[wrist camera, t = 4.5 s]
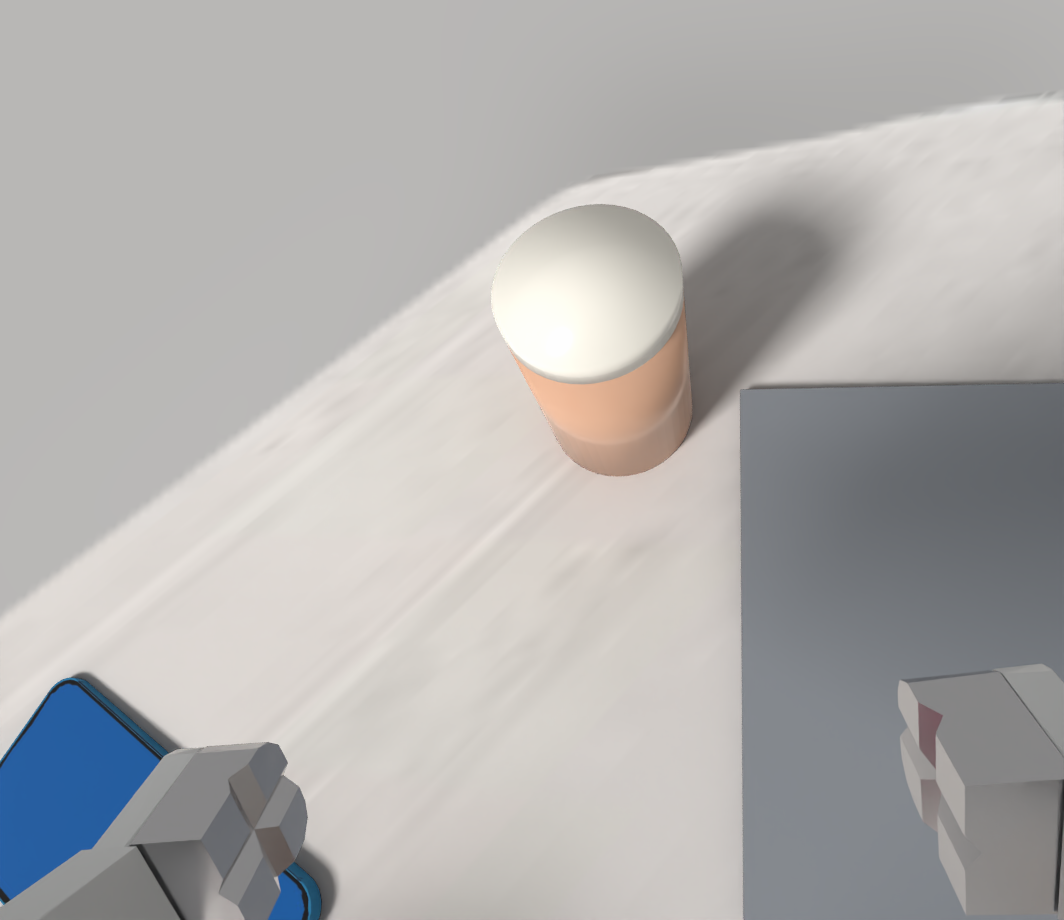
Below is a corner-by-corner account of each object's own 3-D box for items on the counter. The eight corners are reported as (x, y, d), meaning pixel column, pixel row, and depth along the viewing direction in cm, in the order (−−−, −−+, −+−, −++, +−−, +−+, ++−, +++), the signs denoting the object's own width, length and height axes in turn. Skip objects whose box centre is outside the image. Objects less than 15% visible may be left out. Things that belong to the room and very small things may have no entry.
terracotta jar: (691, 477, 26) (679, 364, 18) (546, 475, 27) (480, 370, 20) (693, 347, 28) (684, 196, 20) (558, 351, 29) (502, 212, 22)
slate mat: (1198, 993, 18) (1213, 1000, 17) (743, 917, 21) (744, 922, 20) (1078, 390, 24) (1087, 382, 23) (740, 396, 27) (740, 389, 26)
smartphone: (66, 666, 29) (324, 898, 23) (85, 669, 30) (338, 893, 24) (-55, 837, 27) (188, 1134, 21) (-31, 835, 28) (209, 1120, 22)
